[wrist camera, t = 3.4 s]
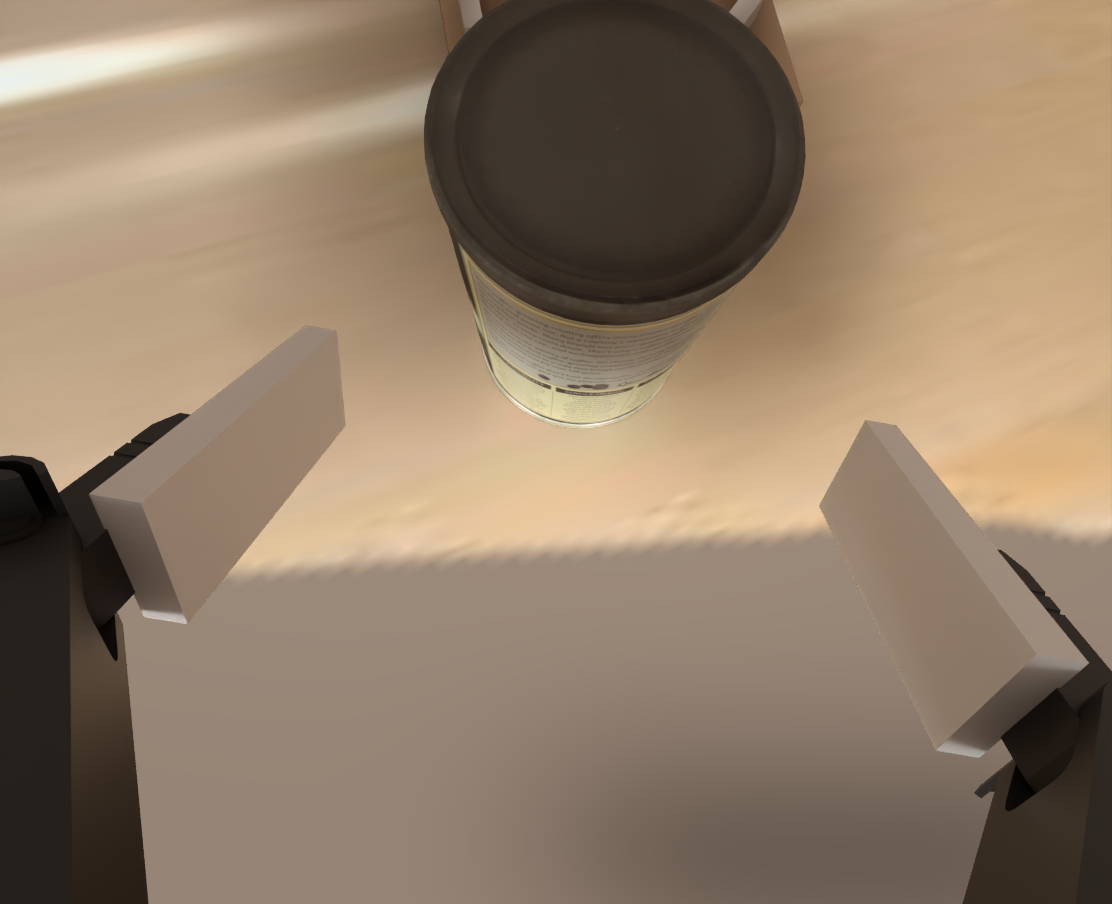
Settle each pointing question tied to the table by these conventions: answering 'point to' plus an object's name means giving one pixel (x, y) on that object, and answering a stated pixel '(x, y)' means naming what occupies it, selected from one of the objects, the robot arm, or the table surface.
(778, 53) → the collar board
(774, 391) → the table surface
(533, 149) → the coffee can
